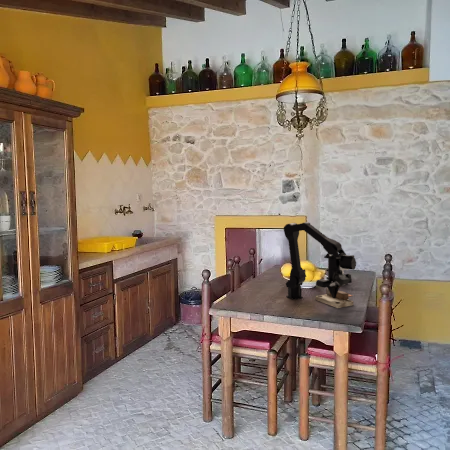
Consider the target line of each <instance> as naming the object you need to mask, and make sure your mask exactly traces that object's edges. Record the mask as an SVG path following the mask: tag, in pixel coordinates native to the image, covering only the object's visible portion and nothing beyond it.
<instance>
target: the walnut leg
mask: <svg viewBox="0 0 450 450" xmlns="http://www.w3.org/2000/svg"><path fill="white" fill-rule="evenodd" d="M325 288H326V291H325V292H326V293H325V294H327V295H331V293H330V291H329V289H328V288H327V287H325ZM349 295H350V293H348V292H345V291H342V290H340V289H339V290H338V292H337V295H336V298H339V299H342V300H349V297H348V296H349ZM331 296H332V295H331Z"/></svg>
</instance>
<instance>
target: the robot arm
mask: <svg viewBox="0 0 450 450" xmlns="http://www.w3.org/2000/svg"><path fill="white" fill-rule="evenodd" d="M301 231H304V232H305V233H306V234H308V235H309V236H310V237H311V238H313V239H314V240H315V241H317V242H318V243H319V244H320V245H321V246H322V247H323V249H324V251H325V252H327V253H326V254H325V255H324V257H323V258H324V259H327V268H326V270H325V271H326V272H327V277H326V279H324V278H321V279H317V280H316V281H315V286H317V287H320V288H323V289H324V288H328V289H329V291H330V293H331V295H332V298H336V295H337V292H338V290H340V288H341V287H342V286H345V285H346V286H347V285H348V284H351V283H353V282H352V281H353V279H352V274H351V273H346V274H342V270H340V267H341V268H343V269H349V270H355V269H356V267H357V260H356V258H355V255H352V254H351V255H350V254H346V252H345V251H344V248H343V247H342V244H341V243H340V242H338V240H335V239H333V238H330V237H328V236H326V234H324V233H322V232H321V231H320V230H319V229H317V228H316V227H315V226H314V225H312V224H311V222H308V221H305V222H302V223H296V222H291V223H287V224H285V225H284V226H283V233H284V236H285V238H286V240H287V242H288V249H289V250H288V251H289V255H290V256H289V257H290V264H291V265H290V266H291V269H290V273H289V279H288V280H287V281H286V282H285V286H286V288H287V295H286V298H288V299H291V300H298V299H303V298H304V297H303V296H302V293H303V292H302V291H303V290H302V285H303V284H304V282H305V281H306V278H307V274H306V269H303V268H302V265H301V259H300V258H301V257H300V248H299V242H298V241H299V240H298V239H299V236H300V232H301Z"/></svg>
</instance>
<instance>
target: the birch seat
mask: <svg viewBox="0 0 450 450" xmlns="http://www.w3.org/2000/svg"><path fill="white" fill-rule="evenodd" d="M315 301H318V302H320V303H322V304H325V305H328V306H331V307H333V308H335V309H340V308H346V307H351V306H354V300H351V299H348V300H342V299H339V298H332V296H331V295H327V294H326V293H325V294H319V295H316V296H315Z"/></svg>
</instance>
